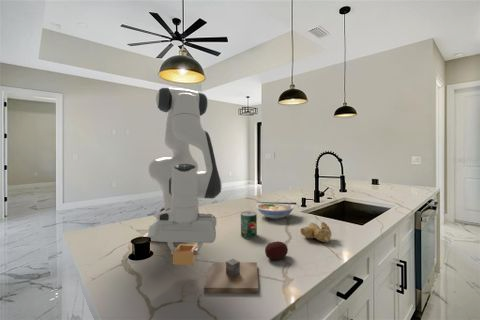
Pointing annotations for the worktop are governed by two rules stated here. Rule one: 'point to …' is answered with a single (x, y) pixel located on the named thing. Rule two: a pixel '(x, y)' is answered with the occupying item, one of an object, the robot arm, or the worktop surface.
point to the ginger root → (317, 232)
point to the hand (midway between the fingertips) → (185, 254)
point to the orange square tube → (184, 254)
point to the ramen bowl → (275, 209)
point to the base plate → (232, 277)
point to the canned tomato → (248, 224)
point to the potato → (276, 250)
